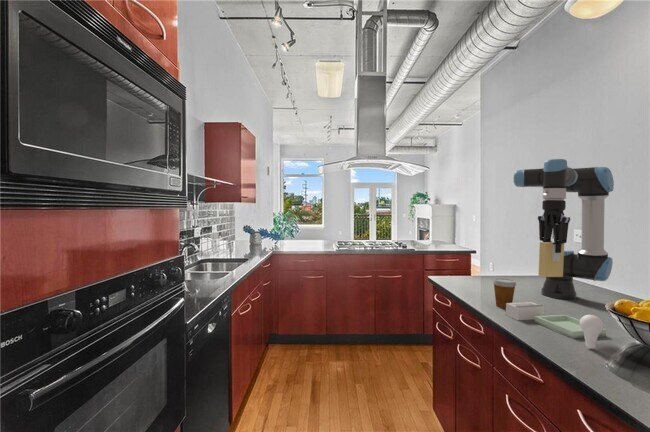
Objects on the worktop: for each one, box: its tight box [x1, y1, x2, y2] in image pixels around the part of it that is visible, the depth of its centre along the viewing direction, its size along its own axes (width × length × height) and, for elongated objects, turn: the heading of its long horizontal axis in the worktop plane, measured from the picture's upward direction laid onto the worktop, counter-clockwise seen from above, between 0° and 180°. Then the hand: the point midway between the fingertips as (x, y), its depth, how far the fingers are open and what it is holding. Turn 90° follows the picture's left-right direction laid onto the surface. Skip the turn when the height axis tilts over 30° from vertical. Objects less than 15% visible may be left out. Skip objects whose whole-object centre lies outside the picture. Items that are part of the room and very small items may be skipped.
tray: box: [534, 314, 607, 339], centre depth 132 cm, size 14×17×2 cm
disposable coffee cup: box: [492, 277, 517, 309], centre depth 160 cm, size 10×10×12 cm
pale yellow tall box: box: [538, 241, 565, 278], centre depth 136 cm, size 8×3×13 cm, turn 99°
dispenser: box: [505, 301, 545, 321], centre depth 145 cm, size 12×7×6 cm, turn 101°
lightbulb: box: [579, 314, 604, 350], centre depth 113 cm, size 6×6×11 cm
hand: (551, 260), depth 136 cm, fingers closed on pale yellow tall box, 3 cm apart
